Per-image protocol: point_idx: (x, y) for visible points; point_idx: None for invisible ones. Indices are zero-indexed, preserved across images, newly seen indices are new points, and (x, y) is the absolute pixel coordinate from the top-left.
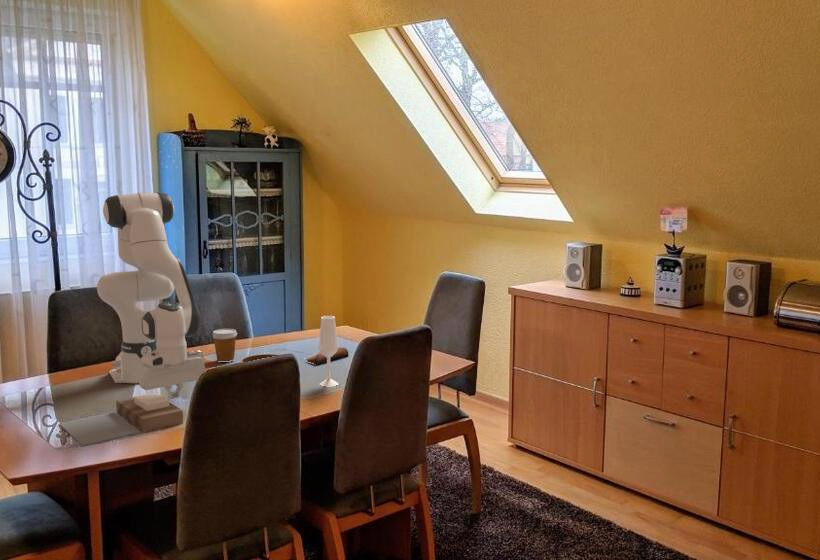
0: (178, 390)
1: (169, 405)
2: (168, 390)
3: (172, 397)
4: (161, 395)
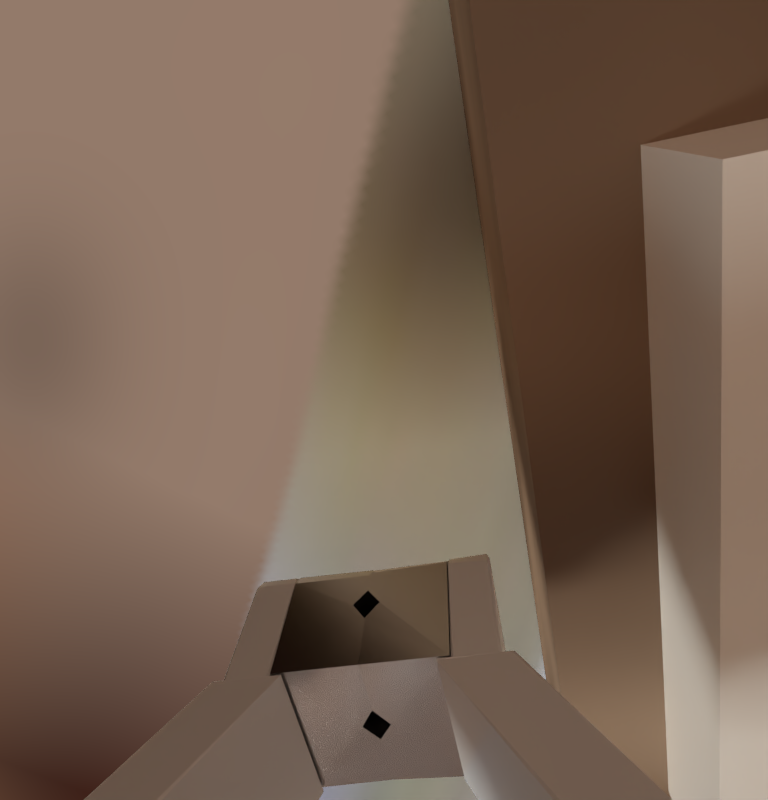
0: (235, 730)
1: (648, 146)
2: (604, 759)
3: (443, 574)
4: (726, 711)
